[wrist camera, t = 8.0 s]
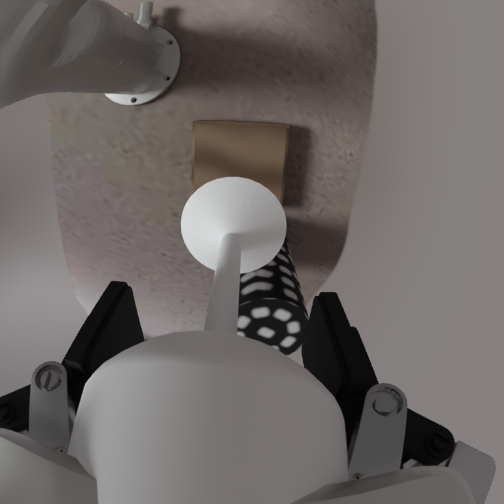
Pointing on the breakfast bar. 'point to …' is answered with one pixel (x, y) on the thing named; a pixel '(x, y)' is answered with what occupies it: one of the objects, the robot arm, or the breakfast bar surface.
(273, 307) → the spotted tube
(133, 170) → the breakfast bar surface
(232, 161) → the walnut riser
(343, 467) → the champagne flute
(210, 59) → the breakfast bar surface
